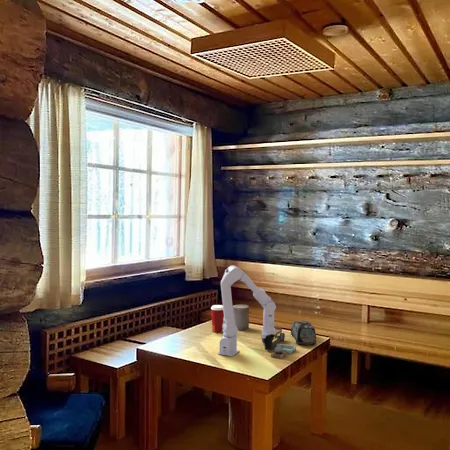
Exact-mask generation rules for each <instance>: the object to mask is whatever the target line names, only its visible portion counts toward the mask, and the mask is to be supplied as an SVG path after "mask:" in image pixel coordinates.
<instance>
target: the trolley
mask: <svg viewBox="0 0 450 450" xmlns="http://www.w3.org/2000/svg"><path fill="white" fill-rule="evenodd" d="M274 328H275V332H276V334H273V335H275V337H274V338H273V339H276V338H277V344H280V342H285V341H284V340H285V337H286V333H284V332H283V331H282V329H283V327H282V326H275V325H274ZM261 342H262V343H264V340H263V338H261ZM264 344H265V343H264Z"/></svg>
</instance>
